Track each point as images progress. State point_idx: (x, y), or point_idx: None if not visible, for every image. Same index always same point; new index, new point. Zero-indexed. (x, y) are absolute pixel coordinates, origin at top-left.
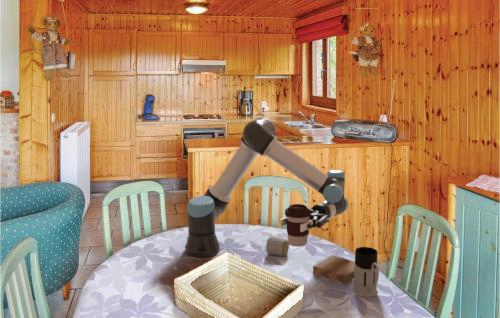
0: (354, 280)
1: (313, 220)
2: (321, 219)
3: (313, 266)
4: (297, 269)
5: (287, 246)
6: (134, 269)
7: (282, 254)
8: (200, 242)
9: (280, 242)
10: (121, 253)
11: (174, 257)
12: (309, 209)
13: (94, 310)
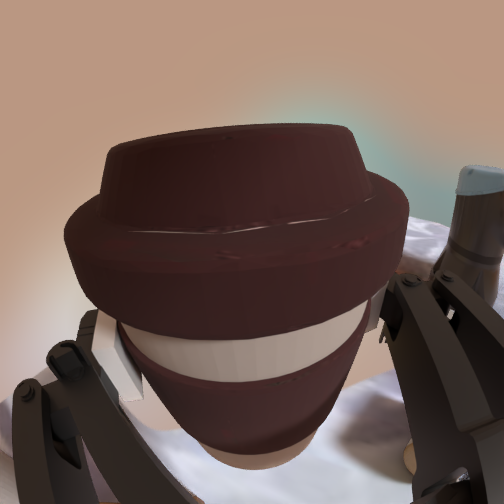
0: (12, 461)
1: (69, 349)
2: (31, 475)
3: (195, 497)
4: (271, 475)
5: None
6: None
7: (403, 455)
8: (443, 255)
9: None
10: (438, 225)
11: (428, 257)
12: (122, 248)
13: None
